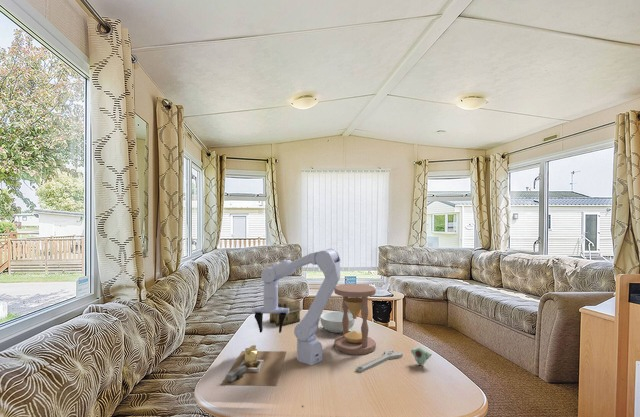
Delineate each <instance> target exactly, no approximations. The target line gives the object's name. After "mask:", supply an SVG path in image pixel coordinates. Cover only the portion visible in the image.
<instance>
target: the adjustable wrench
mask: <svg viewBox="0 0 640 417" xmlns="http://www.w3.org/2000/svg"><path fill="white" fill-rule="evenodd" d="M403 356H404V351H402V350H399V352H394V348H393V349H392V348H390V349H386V350H384V351H383V355H381V356H378V357H376V358H374V359H372V360H369V361H367V362H365V363H362V364H361V365H358V366H356V367H355V371H356V372H358V373H363V372H365V371H368V370H370V369H371V368H373V367H375V366H378V365H380V364H383V363H384V361H385V362H386V361H389V360H393V359H395V360H396V359H401V358H403Z"/></svg>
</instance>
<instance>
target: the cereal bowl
mask: <svg viewBox="0 0 640 417" xmlns="http://www.w3.org/2000/svg"><path fill="white" fill-rule="evenodd" d="M347 314H348V318H349V326H348V331H349V330H351V329H352V328H353V327H354V326H355V321H356V319H353V315H352V313H351V312H348V313H347ZM343 315H344V312H343V311H341V310H339V311H338V310H335V311H328V312H327V311H326V312H324V313H323V312H322V314H321V316H320V323H321V326H322V327H323V329H325V330H327V331H329V332H331V333H333V334H334V333H335V334H343V324H342V319H343Z"/></svg>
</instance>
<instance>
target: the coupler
mask: <svg viewBox="0 0 640 417" xmlns="http://www.w3.org/2000/svg"><path fill="white" fill-rule="evenodd" d="M247 348H248V349H246V350H244V351H245V366H246V367H249V368H257V351H258V348H257V345H256V344H252V345H250V346H249V347H247Z"/></svg>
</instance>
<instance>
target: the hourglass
mask: <svg viewBox="0 0 640 417" xmlns="http://www.w3.org/2000/svg"><path fill="white" fill-rule="evenodd" d="M333 292H334V294H336V295H337V296H339V297H340V296H341V297H342V302H341V303H342V306H341V307H342V310H343V311H342V312H344V315H343V319H342V324H343V333H342V335H340V336H338V337H336V338H335V339H334V341H333V342H334V348H335V350H337V351H339V352H340V353H343V354H348V355H366V354H370V353H373V351H375V350H376V347H377V344H376V343H377V342H376V341H375V339H373V338H372V337H369V336H368V335H369V325H368V317H369V307H368V297H372V296H375V294H376V293H377V289H376V288H375V287H374V286H373V285H372V286H371V285H369V284H362V283H344V284H343V283H342V284H339V285H338V284H337V285H336V287H335V289H334V291H333ZM347 313H351V314H352V315H353V319H355V320H356V319H357V316H358V314H359V313H360V314H361V315H360V316H361V318H362V323H361V327H360V332H359V331H357V330H353V331H350V332H349V330H348V326H349V318H348V314H347Z"/></svg>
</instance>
